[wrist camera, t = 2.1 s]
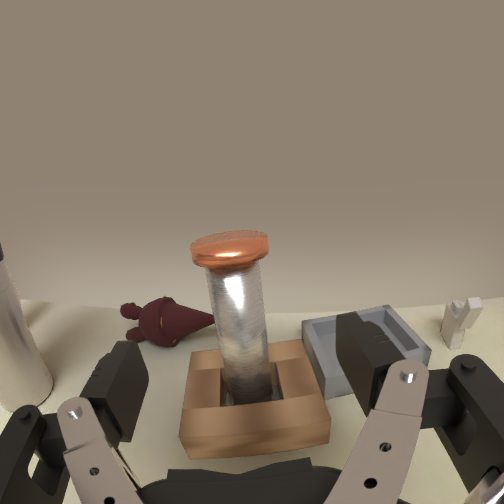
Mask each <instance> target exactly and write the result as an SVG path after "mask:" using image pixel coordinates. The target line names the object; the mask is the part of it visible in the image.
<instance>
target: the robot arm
mask: <svg viewBox="0 0 504 504" xmlns="http://www.w3.org/2000/svg"><path fill="white" fill-rule="evenodd" d="M335 347H336V356H337V359H338V362H339V364H340V366H341V368H342V370H343V372H344V374H345V376H346V378H347V380H348V382H349V384H350V386H351V388H352V390H353V392H354V394H355V396H356V398H357V400H358V402H359V404H360V406H361V408H362V410H363V412H364V414H365V416H366V417H368V418H367V420H366V423H365V425H364V427H363V429H362V432H361V434H360V436H359V438H358V440H357V442H356V445H355V447H354V449H353V451H352V453H351V455H350V457H349V459H348V461H347V463H346V465H345V467H344V469H343V471H342V470H339V469H335V468H330V467H323V466H312V464H311V460H310V457H308V458H302V459H297V460H291V461H285V462H279V463H273V464H270V465H268V466H265V467H262V468H258V469H255V470H252V471H249V472H246V473H242V474H228V473H221V472H214V471H208V470H203V469H188V470H183V469H168V474H167V479H162V480H158V481H155V482H153V483H150V484H148V485H146V486H144V487H143V486H142V485H141V483H140V482H139V481H138V479H137V477H136V476H135V474H134V473H133V471H132V470H131V468H130V466H129V465H128V463H127V461H126V460H125V458H124V456H123V455H122V453H121V451H120V450H119V448H118V445H119V442H130V443H131V440H132V436H133V433H134V429H135V426H136V423H137V419H138V416H139V413H140V409H141V406H142V403H143V400H144V396H145V393H146V390H147V387H148V383H149V376H148V371H147V368H146V365H145V363H144V360H143V357H142V355H141V352H140V349H139V346H138V344H137V342H136V341H135V340H129V341H117V342H116V344H115V346H114V347H113V349H112V351H111V353H107V354H106V355H105V356H104V357H103V358H102V359H100V360H99V362H98V364H97V365H96V367H95V370H94V371H93V372H92V374H91V377H90V378H89V380H88V381H87V383H86V385H85V387H84V389H83V391H82V392H81V394H80V396H79V397H76V398H72V399H69V400H67V401H65V402H64V403H63V404H62V405H61V406H60V407H59V409H58V411H57V413H52V414H45V415H42V414H41V412H40V410H39V409H38V408H37V407H36V406H38V405H39V404H40V403H42V402H43V401H44V400H45V399H46V398H47V397H48V395H49V394H50V392H51V390H52V387H53V379H52V377H51V375H50V373H49V371H48V369H47V367H46V365H45V363H44V361H43V359H42V357H41V355H40V352H39V350H38V348H37V346H36V344H35V342H34V339H33V337H32V335H31V333H30V330H29V328H28V326H27V323H26V321H25V318H24V316H23V313H22V310H21V308H20V305H19V303H18V300H17V297H16V294H15V291H14V288H13V285H12V282H11V279H10V276H9V273H8V270H7V266H6V263H5V260H4V255H3V252H2V248H1V244H0V402H1V404H2V405H3V406H4V408H5V409H7V410H8V411H11V412H14V413H13V414H12V416H11V418H10V419H9V421H8V423H7V425H6V426H5V428H4V430H3V432H2V433H1V435H0V504H62V503H63V499H64V496H65V492H66V489H67V485H68V482H69V479H70V476H71V479H72V481H73V484H74V486H75V489H76V491H77V494H78V496H79V498H80V501H81V503H82V504H410V503H408V502H406V501H403V500H401V499H399V495H400V492H401V489H402V487H403V484H404V481H405V478H406V475H407V472H408V469H409V466H410V463H411V459H412V456H413V452H414V449H415V445H416V442H417V438H418V434H419V430H420V429H426V428H434V429H435V431H436V433H437V435H438V437H439V438H440V440H441V442H442V444H443V445H444V447H445V449H446V451H447V453H448V455H449V456H450V458H451V460H452V462H453V464H454V466H455V468H456V470H457V471H458V473H459V475H460V477H461V479H462V481H463V483H464V485H465V487H466V489H467V491H468V493H469V495H468V496H467V498H466V500H465V502H464V504H504V383H503V382H502V381H501V380H500V379H499V378H498V377H497V375H496V374H495V373H494V372H493V371H492V370H491V369H490V368H489V367H488V366H487V365H486V364H485V363H484V361H483V360H481V359H480V358H479V357H477V356H474V355H470V354H462V355H458V356H456V357H455V358H453V359H452V361H451V363H450V366H449V368H448V369H438V370H428V369H427V367H426V366H425V365H424V364H423V363H421V362H419V361H416V360H410V359H406V358H405V357H404V355H403V354H402V353H401V352H400V350H399V349H398V348H397V347H396V346H395V344H394V343H393V342H392V341H390V338H389V337H388V336H387V335H385V332H384V331H383V330H382V329H381V327H380V326H378V325H377V324H375V323H373V322H371V321H366V322H364V321H363V320H362V319H361V318H360V316H359V315H358V314H357V313H356V312H355V311H354V312H349V313H344V314H339V315H337V316H336V346H335ZM33 453H35V454H36V456H37V457H38V458H39V461H38V464H37V466H36V469H35V471H34V474H33V476H32V479H31V478H30V476H29V474H28V465H29V463H30V460H31V458H32V456H33Z"/></svg>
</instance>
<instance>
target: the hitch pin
mask: <svg viewBox="0 0 504 504" xmlns="http://www.w3.org/2000/svg"><path fill="white" fill-rule="evenodd" d="M268 245H269V244H268V236H267V235H266V234H265V233H262V232H258V231H248V230H242V231H229V232H223V233H218V234H213V235H209V236H206V237H203V238H200V239H198V240H196V241H195V242H193V243H192V244H191V245H190V249H191V255H192V261H193V263H194V264H196V265H198V266H200V267H205V272H206V277H207V283H208V288H209V294H210V300H211V305H212V310H213V316H214V321H215V326H216V331H217V336H218V341H219V346H220V351H221V356H222V361H223V366H224V370H225V375H226V380H227V384H228V389H229V393H230V397H231V402H232V406H236V405H245V404H254V403H262V402H270V401H273V391H272V381H271V371H270V361H269V351H268V342H267V332H266V322H265V313H264V303H263V294H262V284H261V275H260V266H259V260H260V259H262V258H264V257H265V256H266V255H267V254H268V253H269V246H268Z"/></svg>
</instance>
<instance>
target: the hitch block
mask: <svg viewBox="0 0 504 504" xmlns="http://www.w3.org/2000/svg"><path fill="white" fill-rule="evenodd" d="M268 351H269V361H270V371H271V381H272V387H275V386H278V390H279V395H280V399H281V400H277V401H270V402H262V403H254V404H245V405H236V406H226V392H229V389H228V384H227V380H226V375H225V370H224V366H223V361H222V356H221V351H220V350H210V351H198V352H192V353H191V359H190V365H189V371H188V377H187V384H186V390H185V396H184V403H183V410H182V417H181V424H180V431H179V438H180V441H181V443H182V445H183V447H184V449H185V451H186V453H187V455H188V457H189V459H209V458H228V457H241V456H252V455H261V454H269V453H276V452H283V451H289V450H295V449H301V448H306V447H312V446H317V445H321V444H326V443H328V442H329V433H330V424H331V418H330V415H329V412H328V410H327V407H326V404H325V401H324V399H323V396H322V393H321V391H320V388H319V385H318V382H317V380H316V377H315V374H314V372H313V369H312V366H311V364H310V361H309V358H308V356H307V353H306V350H305V348H304V345H303V342H302V340H301V339H297V340H290V341H284V342H277V343H270V344H268Z"/></svg>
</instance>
